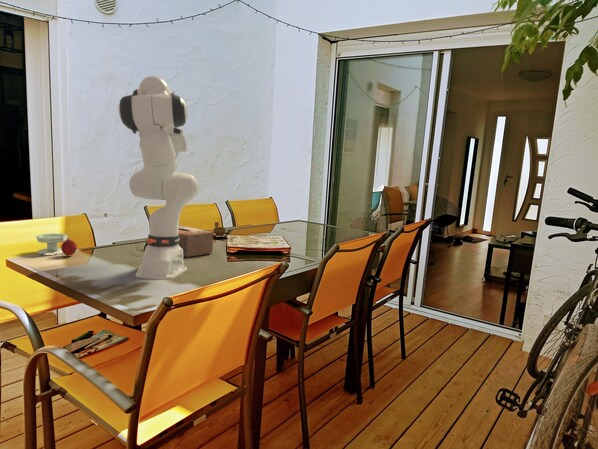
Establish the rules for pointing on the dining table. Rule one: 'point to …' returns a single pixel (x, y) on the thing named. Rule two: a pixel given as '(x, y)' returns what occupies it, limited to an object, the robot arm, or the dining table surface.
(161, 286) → the dining table surface
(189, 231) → the tissue box cover
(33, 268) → the dining table surface
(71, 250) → the onion
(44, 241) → the stand
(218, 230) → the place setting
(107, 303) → the dining table surface
